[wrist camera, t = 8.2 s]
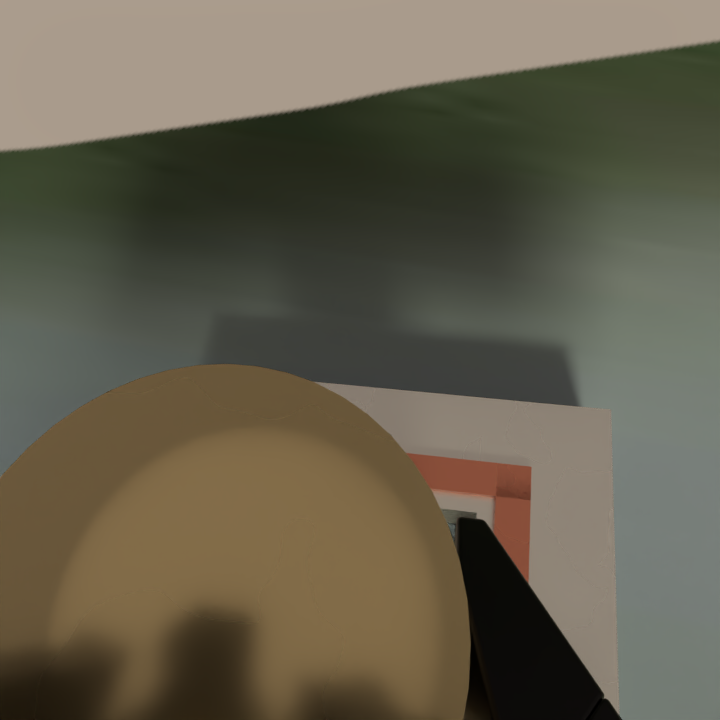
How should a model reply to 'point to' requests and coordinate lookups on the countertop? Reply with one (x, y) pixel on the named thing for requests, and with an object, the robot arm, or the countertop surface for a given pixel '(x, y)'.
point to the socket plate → (523, 496)
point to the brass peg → (226, 561)
